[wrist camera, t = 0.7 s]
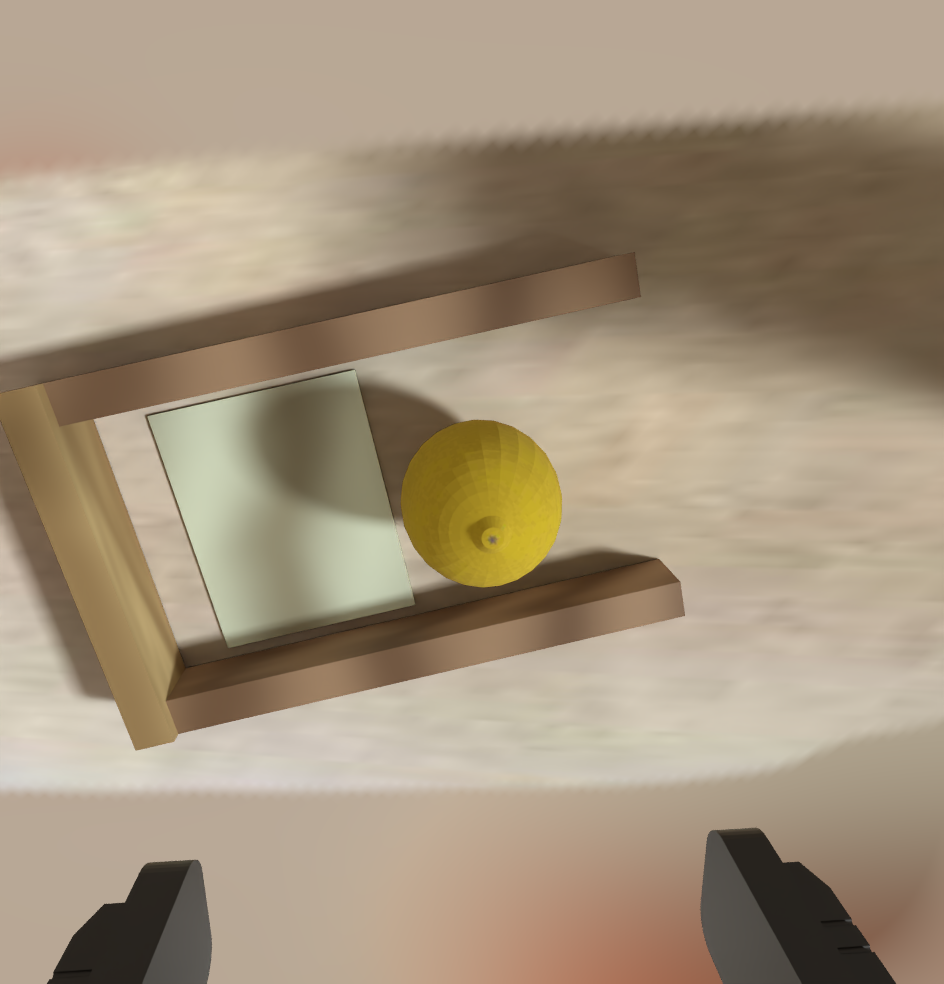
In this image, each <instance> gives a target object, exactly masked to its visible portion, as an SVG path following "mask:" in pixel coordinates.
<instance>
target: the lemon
mask: <svg viewBox="0 0 944 984" xmlns="http://www.w3.org/2000/svg"><path fill="white" fill-rule="evenodd" d="M401 510H402V516H403V522H404V526H405V529H406V531H407V533H408V536H409V538H410V540H411V542H412V544H413V546H414V548H415V549H416V551H417V552H418V553H419V554H420V556H421V557H422V558H423V559H424V560H425V562H426V563H427V564H428V565H429V566H430V567H432V568H433V569H434V570H436V571H437V572H439V573H440V574H441V575H443V576H444V577H446V578H448V579H450V580H453V581H455V582H458V583H460V584H463V585H469V586H476V587H491V586H500V585H503V584H506V583H509V582H512V581H515V580H518V579H519V578H521V577H522V576H524V575H526V574H527V573H529V572H530V571H532V570H533V569H534V568H535V567H536V566H537V565H538V564H539V563H540V562H541V561H542V560H543V559H544V558H545V557H546V555H547V553H548V552H549V550H550V548H551V547H552V545H553V543H554V542H555V539H556V536H557V533H558V529H559V526H560V523H561V514H562V495H561V490H560V486H559V482H558V478H557V474H556V472H555V470H554V468H553V466H552V464H551V463H550V461H549V459H548V457H547V455H546V453H545V452H544V451H543V450H542V449H541V448H540V447H539V446H538V445H537V444H536V443H535V442H534V441H533V440H532V439H531V438H530V437H529V436H527V435H525V434H524V433H522V432H520V431H519V430H517V429H516V428H514V427H512V426H509V425H506V424H502V423H499V422H496V421H490V420H470V421H465V422H461V423H456V424H453V425H451V426H449V427H447V428H445V429H443V430H441V431H438V432H437V433H435V434H434V435H433V436H432V437H431V438H430V439H428V440H427V441H426V442H425V443H424V444H422V446H421V447H420V448H419V450H418V451H417V453H416V454H415V455H414V457H413V458H412V460H411V461H410V463H409V466H408V469H407V471H406V474H405V477H404V479H403V483H402V493H401Z"/></svg>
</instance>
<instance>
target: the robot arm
mask: <svg viewBox="0 0 944 984" xmlns="http://www.w3.org/2000/svg"><path fill="white" fill-rule="evenodd" d="M701 921H702V927H703V933H704V936H705V940H706V944H707V947H708V950H709V952H710V955H711V957H712V959H713V962H714V964H715V966H716V969H717V970H718V973H719V975H720V978H721V980H722V982H723V984H896V983H895V981H894V980H893V979H892V977H891V976H890V974H889V973H888V971H887V970H886V968H885V967H884V965H883V964H882V962H881V961H880V960H879V958H878V957H877V955H876V954H875V952H871V950H870V945H869V944H868V942H867V941H866V939H865V938H864V936H863V935H862V933H861V932H860V931H859V929H858V928H857V926H856V925H855V926H854V925H853V924H852V919H851V917H850V916H849V915H848V913H847V912H846V910H845V909H844V907H843V906H842V904H841V903H840V902H839V900H838V899H837V897H836V896H835V894H834V893H833V891H832V890H831V888H830V887H829V886H827V885H826V884H825V883H824V882H823V881H821V880H820V879H819V878H818V877H817V876H815V875H814V874H813V873H812V872H810V871H809V870H808V869H807V868H806V867H805V866H803V865H802V864H801V863H800V862H787V863H783V862H782V861H781V859H780V858H779V856H778V854H777V853H776V851H775V850H774V848H773V847H772V845H771V844H770V842H769V840H768V839H767V837H766V836H765V835H764V833H763V832H762V831H761V830H760V829H758V828H745V829H729V830H713V831H710V833H709V834H708V837H707V844H706V855H705V865H704V875H703V886H702V897H701ZM211 940H212V938H211V930H210V923H209V915H208V909H207V902H206V895H205V887H204V880H203V873H202V867H201V864H200V862H199V861H198V860H185V861H169V862H153V863H147V864H146V865H145V866H144V867H143V868H142V869H141V871H140V873H139V875H138V877H137V879H136V881H135V883H134V885H133V887H132V889H131V891H130V893H129V895H128V897H127V900H126V902H125V903H113V904H104V905H103V906H102V907H101V908H100V909H99V910H98V911H97V912H96V913H95V914H94V915H93V916H92V917H91V918H90V919H89V920H88V921H87V922H86V923H85V924H84V925H83V927H81V928H80V929H79V930H78V931H77V932H76V934H74V935H73V937H72V939H71V941H70V942H69V944H68V946H67V948H66V950H65V952H64V954H63V955H62V957H61V959H60V961H59V963H58V965H57V966H56V969H55V970H54V972H53V973H54V975H53V978H52V979H50V980H49V981H48V983H47V984H207V980H208V976H209V969H210V963H211V952H212V941H211Z"/></svg>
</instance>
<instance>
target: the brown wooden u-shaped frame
mask: <svg viewBox="0 0 944 984" xmlns="http://www.w3.org/2000/svg"><path fill="white" fill-rule="evenodd" d="M637 297H641V295H640V288H639V281H638V274H637V266H636V259H635V252H633V253H628V254H623V255H617V256H613V257H608V258H604V259H599V260H595V261H590V262H586V263H581V264H577V265H572V266H568V267H563V268H559V269H554V270H550V271H545V272H541V273H536V274H532V275H527V276H523V277H518V278H514V279H509V280H505V281H500V282H496V283H491V284H487V285H482V286H478V287H473V288H469V289H464V290H460V291H455V292H451V293H446V294H442V295H437V296H433V297H428V298H424V299H419V300H415V301H410V302H406V303H401V304H397V305H392V306H388V307H383V308H379V309H374V310H370V311H365V312H361V313H356V314H352V315H347V316H343V317H338V318H334V319H329V320H325V321H320V322H316V323H311V324H307V325H302V326H298V327H293V328H289V329H284V330H280V331H275V332H271V333H266V334H262V335H257V336H253V337H248V338H244V339H239V340H235V341H230V342H226V343H221V344H217V345H212V346H208V347H203V348H199V349H194V350H190V351H185V352H181V353H176V354H172V355H167V356H163V357H158V358H154V359H149V360H145V361H140V362H136V363H131V364H127V365H122V366H118V367H113V368H109V369H104V370H100V371H95V372H91V373H86V374H82V375H77V376H73V377H68V378H64V379H59V380H55V381H50V382H46V383H41V384H37V385H32V386H28V387H24V388H20V389H16V390H11V391H7V392H3V393H0V421H1V423H2V426H3V428H4V431H5V433H6V435H7V438H8V440H9V443H10V445H11V448H12V450H13V452H14V455H15V457H16V460H17V462H18V465H19V467H20V470H21V472H22V474H23V477H24V479H25V482H26V484H27V487H28V489H29V491H30V494H31V496H32V499H33V501H34V504H35V506H36V509H37V511H38V513H39V516H40V518H41V521H42V523H43V526H44V528H45V531H46V533H47V535H48V538H49V540H50V543H51V545H52V548H53V550H54V552H55V555H56V557H57V560H58V562H59V565H60V567H61V570H62V572H63V574H64V577H65V579H66V582H67V584H68V587H69V589H70V591H71V594H72V596H73V599H74V601H75V604H76V606H77V609H78V611H79V613H80V616H81V618H82V621H83V623H84V626H85V628H86V631H87V633H88V635H89V638H90V640H91V643H92V645H93V648H94V650H95V652H96V655H97V657H98V660H99V662H100V665H101V667H102V670H103V672H104V674H105V677H106V679H107V682H108V684H109V687H110V689H111V691H112V694H113V696H114V699H115V701H116V704H117V706H118V709H119V711H120V713H121V716H122V718H123V721H124V723H125V726H126V728H127V731H128V733H129V735H130V738H131V740H132V743H133V745H134V748H135V750H140V749H145V748H149V747H153V746H158V745H162V744H166V743H170V742H174V741H175V739H176V737H177V735H178V734H180V733H184V732H188V731H193V730H197V729H201V728H206V727H210V726H214V725H218V724H223V723H227V722H231V721H236V720H240V719H244V718H249V717H253V716H257V715H261V714H266V713H270V712H274V711H279V710H283V709H287V708H291V707H296V706H300V705H304V704H309V703H313V702H317V701H321V700H326V699H330V698H334V697H339V696H343V695H347V694H351V693H356V692H360V691H364V690H369V689H373V688H377V687H382V686H386V685H390V684H394V683H399V682H403V681H407V680H412V679H416V678H420V677H424V676H429V675H433V674H437V673H442V672H446V671H450V670H454V669H459V668H463V667H467V666H472V665H476V664H480V663H484V662H489V661H493V660H497V659H502V658H506V657H510V656H515V655H519V654H523V653H527V652H532V651H536V650H540V649H545V648H549V647H553V646H557V645H562V644H566V643H570V642H575V641H579V640H583V639H587V638H592V637H596V636H600V635H605V634H609V633H613V632H617V631H622V630H626V629H630V628H635V627H639V626H643V625H647V624H652V623H656V622H660V621H665V620H669V619H673V618H678V617H682V616H685V612H684V605H683V598H682V591H681V583H680V581H679V580H678V579H677V578H676V577H675V576H674V575H673V573H672V572H671V571H670V570H669V569H668V568H667V567H666V566H665V565H664V564H663V563H662V562H661V561H660V559H656V560H651V561H647V562H643V563H638V564H634V565H630V566H625V567H621V568H617V569H612V570H608V571H604V572H600V573H595V574H591V575H587V576H582V577H578V578H574V579H569V580H565V581H561V582H556V583H552V584H548V585H543V586H539V587H535V588H530V589H526V590H522V591H517V592H513V593H509V594H504V595H500V596H496V597H491V598H487V599H483V600H478V601H474V602H470V603H465V604H461V605H457V606H452V607H448V608H444V609H440V610H435V611H431V612H427V613H422V614H418V615H414V616H409V617H405V618H401V619H396V620H392V621H388V622H383V623H379V624H375V625H370V626H366V627H362V628H357V629H353V630H349V631H344V632H340V633H336V634H331V635H327V636H323V637H318V638H314V639H310V640H305V641H301V642H297V643H293V644H288V645H284V646H280V647H275V648H271V649H267V650H262V651H258V652H254V653H249V654H245V655H241V656H236V657H232V658H228V659H223V660H219V661H215V662H210V663H206V664H202V665H197V666H193V667H189V668H185V665H184V662H183V660H182V657H181V654H180V652H179V649H178V646H177V644H176V641H175V638H174V635H173V633H172V630H171V627H170V625H169V622H168V619H167V617H166V614H165V611H164V609H163V606H162V603H161V600H160V598H159V595H158V592H157V590H156V587H155V584H154V582H153V579H152V576H151V574H150V571H149V568H148V565H147V563H146V560H145V557H144V555H143V552H142V549H141V547H140V544H139V541H138V539H137V536H136V533H135V530H134V528H133V525H132V522H131V520H130V517H129V514H128V512H127V509H126V506H125V504H124V501H123V498H122V495H121V493H120V490H119V487H118V485H117V482H116V479H115V477H114V474H113V471H112V469H111V466H110V463H109V460H108V458H107V455H106V452H105V450H104V447H103V444H102V442H101V439H100V436H99V434H98V431H97V428H96V426H95V423H94V420H93V419H96V418H101V417H105V416H109V415H114V414H118V413H123V412H127V411H132V410H136V409H141V408H145V407H150V406H154V405H159V404H163V403H168V402H172V401H177V400H181V399H186V398H190V397H194V396H199V395H203V394H208V393H212V392H217V391H221V390H226V389H230V388H235V387H239V386H244V385H248V384H253V383H257V382H262V381H266V380H271V379H275V378H279V377H284V376H288V375H293V374H297V373H302V372H306V371H311V370H315V369H320V368H324V367H329V366H333V365H338V364H342V363H347V362H351V361H356V360H360V359H364V358H369V357H373V356H378V355H382V354H387V353H391V352H396V351H400V350H405V349H409V348H414V347H418V346H423V345H427V344H432V343H436V342H441V341H445V340H449V339H454V338H458V337H463V336H467V335H472V334H476V333H481V332H485V331H490V330H494V329H499V328H503V327H508V326H512V325H517V324H521V323H525V322H530V321H534V320H539V319H543V318H548V317H552V316H557V315H561V314H566V313H570V312H575V311H579V310H584V309H588V308H593V307H597V306H602V305H606V304H610V303H615V302H619V301H624V300H628V299H633V298H637ZM147 417H148V420H149V423H150V425H151V428H152V431H153V434H154V437H155V440H156V443H157V446H158V448H159V451H160V454H161V457H162V460H163V463H164V466H165V468H166V471H167V474H168V477H169V480H170V483H171V486H172V489H173V491H174V494H175V497H176V500H177V503H178V506H179V509H180V511H181V514H182V517H183V520H184V523H185V526H186V529H187V532H188V534H189V537H190V540H191V543H192V546H193V549H194V552H195V554H196V557H197V560H198V563H199V566H200V569H201V572H202V575H203V577H204V580H205V583H206V586H207V589H208V592H209V595H210V597H211V600H212V603H213V606H214V609H215V612H216V615H217V618H218V620H219V623H220V626H221V629H222V632H223V635H224V638H225V640H226V643H227V646H228V648H231V647H235V646H240V645H244V644H248V643H253V642H257V641H261V640H266V639H270V638H274V637H279V636H283V635H287V634H292V633H296V632H300V631H305V630H309V629H313V628H318V627H322V626H326V625H331V624H335V623H339V622H344V621H348V620H352V619H357V618H361V617H365V616H370V615H374V614H378V613H383V612H387V611H391V610H395V609H400V608H404V607H408V606H413V605H415V601H414V597H413V593H412V589H411V585H410V581H409V577H408V573H407V570H406V566H405V562H404V558H403V554H402V550H401V546H400V542H399V539H398V535H397V531H396V527H395V523H394V519H393V515H392V512H391V508H390V504H389V500H388V496H387V492H386V488H385V484H384V481H383V477H382V473H381V469H380V465H379V461H378V457H377V453H376V450H375V446H374V442H373V438H372V434H371V430H370V426H369V423H368V419H367V415H366V411H365V407H364V403H363V399H362V395H361V392H360V388H359V384H358V380H357V376H356V372H355V370H351V371H347V372H342V373H338V374H333V375H329V376H324V377H320V378H315V379H311V380H306V381H302V382H297V383H293V384H289V385H284V386H280V387H275V388H271V389H266V390H262V391H257V392H253V393H248V394H244V395H239V396H235V397H230V398H226V399H221V400H217V401H213V402H208V403H204V404H199V405H195V406H190V407H186V408H181V409H177V410H172V411H168V412H163V413H159V414H154V415H150V416H147Z"/></svg>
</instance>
